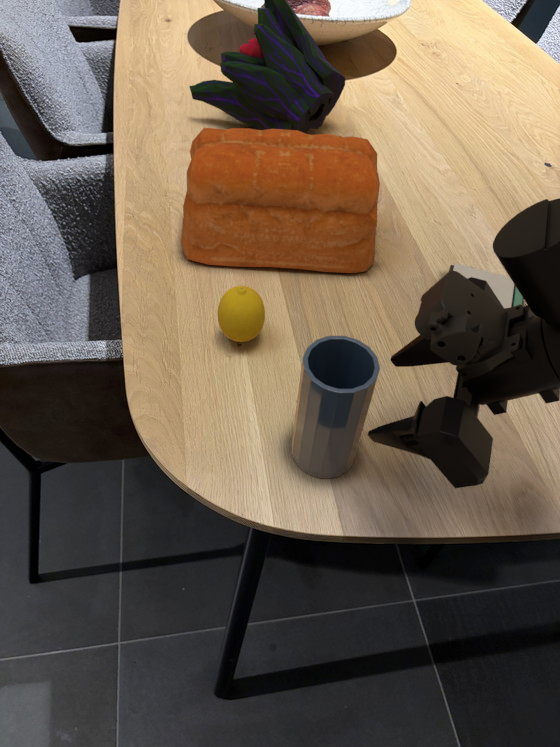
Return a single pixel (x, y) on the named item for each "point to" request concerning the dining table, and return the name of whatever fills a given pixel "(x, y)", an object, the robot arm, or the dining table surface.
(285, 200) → the bread
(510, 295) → the kitchen scale
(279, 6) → the decorative plant
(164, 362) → the dining table surface
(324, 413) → the tumbler
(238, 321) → the lemon
